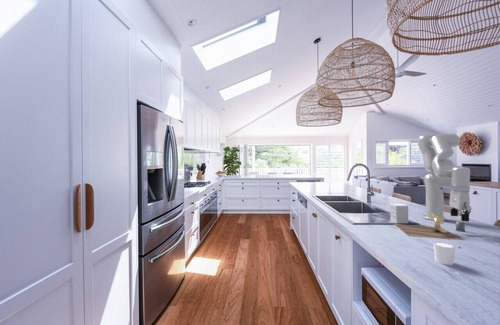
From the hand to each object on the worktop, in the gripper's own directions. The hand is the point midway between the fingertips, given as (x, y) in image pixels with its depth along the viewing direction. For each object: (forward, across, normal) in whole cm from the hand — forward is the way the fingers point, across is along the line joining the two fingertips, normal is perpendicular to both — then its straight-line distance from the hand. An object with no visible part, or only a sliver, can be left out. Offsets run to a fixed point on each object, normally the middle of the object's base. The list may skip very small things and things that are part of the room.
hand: (459, 218), depth 125 cm
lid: (+8, +1, 0) cm, 8 cm away
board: (+7, +9, -20) cm, 23 cm away
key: (+6, +10, -14) cm, 18 cm away
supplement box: (+8, -9, -27) cm, 30 cm away
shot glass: (+6, +46, -29) cm, 55 cm away
